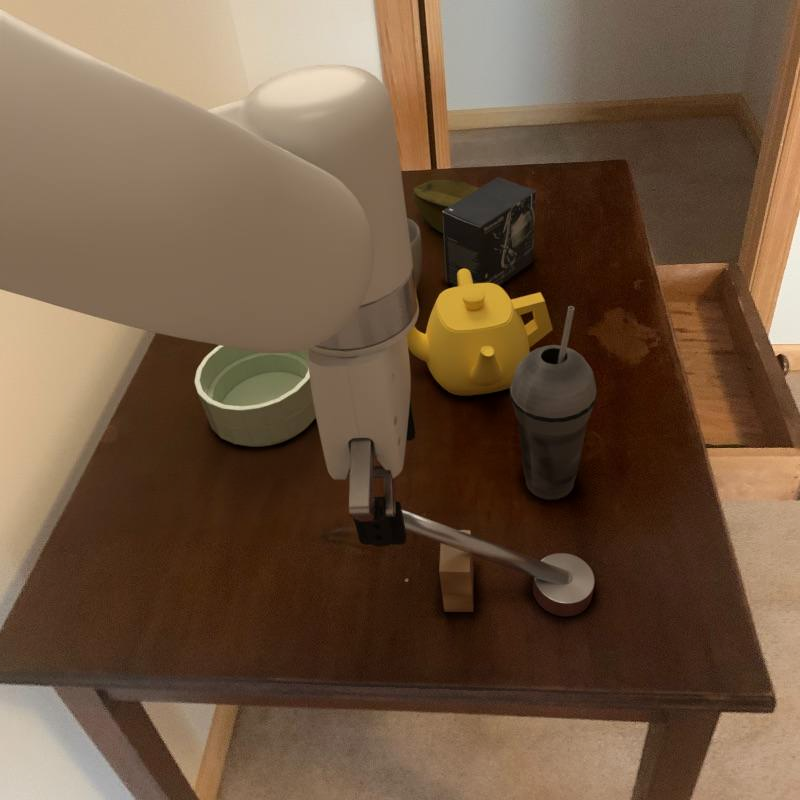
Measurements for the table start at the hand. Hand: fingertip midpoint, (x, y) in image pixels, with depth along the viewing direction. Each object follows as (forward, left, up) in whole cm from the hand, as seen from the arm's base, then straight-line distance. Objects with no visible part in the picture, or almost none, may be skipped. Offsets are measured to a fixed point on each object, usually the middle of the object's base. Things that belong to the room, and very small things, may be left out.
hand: (390, 486), depth 56 cm
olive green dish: (+54, +24, -14) cm, 61 cm away
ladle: (+2, -5, -13) cm, 14 cm away
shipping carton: (+2, -4, -13) cm, 14 cm away
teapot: (+27, +8, -14) cm, 32 cm away
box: (+45, +15, -14) cm, 50 cm away
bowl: (+12, +26, -13) cm, 32 cm away
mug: (+34, +25, -14) cm, 45 cm away
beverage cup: (+16, -6, -14) cm, 22 cm away
